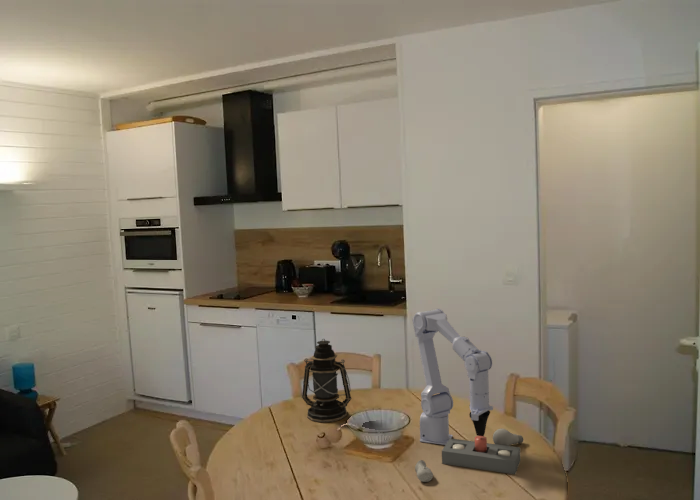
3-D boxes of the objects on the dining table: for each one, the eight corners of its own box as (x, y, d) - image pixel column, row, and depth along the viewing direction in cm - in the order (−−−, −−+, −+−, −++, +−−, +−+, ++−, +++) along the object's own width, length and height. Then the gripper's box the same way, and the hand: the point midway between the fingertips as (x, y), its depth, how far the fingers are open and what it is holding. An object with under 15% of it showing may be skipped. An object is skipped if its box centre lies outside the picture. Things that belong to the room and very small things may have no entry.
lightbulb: (530, 436, 186) (502, 435, 182) (525, 453, 187) (496, 451, 183) (520, 426, 191) (492, 424, 188) (515, 442, 193) (487, 440, 189)
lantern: (295, 421, 218) (291, 343, 215) (308, 406, 233) (304, 333, 231) (347, 424, 213) (343, 344, 210) (357, 408, 228) (353, 334, 226)
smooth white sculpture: (432, 487, 165) (415, 483, 165) (428, 474, 173) (412, 470, 173) (436, 474, 165) (419, 469, 164) (432, 461, 173) (416, 456, 172)
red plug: (473, 451, 176) (473, 439, 176) (476, 446, 179) (476, 435, 179) (485, 453, 174) (485, 441, 174) (488, 448, 178) (487, 436, 177)
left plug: (451, 459, 179) (451, 448, 179) (454, 454, 182) (454, 443, 182) (463, 461, 178) (462, 449, 177) (465, 456, 181) (465, 444, 181)
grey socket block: (442, 463, 177) (441, 450, 177) (450, 450, 186) (450, 438, 186) (515, 474, 168) (515, 461, 168) (520, 460, 177) (520, 447, 177)
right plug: (497, 466, 173) (497, 454, 173) (499, 461, 177) (499, 449, 176) (509, 467, 172) (509, 455, 171) (511, 462, 175) (511, 451, 175)
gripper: (487, 400, 167) (489, 446, 168) (496, 385, 180) (498, 427, 181) (463, 398, 170) (465, 443, 171) (474, 383, 183) (475, 425, 184)
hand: (480, 435), depth 176 cm, fingers closed
